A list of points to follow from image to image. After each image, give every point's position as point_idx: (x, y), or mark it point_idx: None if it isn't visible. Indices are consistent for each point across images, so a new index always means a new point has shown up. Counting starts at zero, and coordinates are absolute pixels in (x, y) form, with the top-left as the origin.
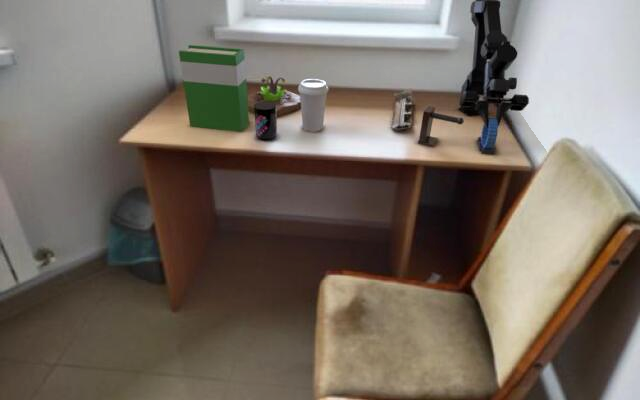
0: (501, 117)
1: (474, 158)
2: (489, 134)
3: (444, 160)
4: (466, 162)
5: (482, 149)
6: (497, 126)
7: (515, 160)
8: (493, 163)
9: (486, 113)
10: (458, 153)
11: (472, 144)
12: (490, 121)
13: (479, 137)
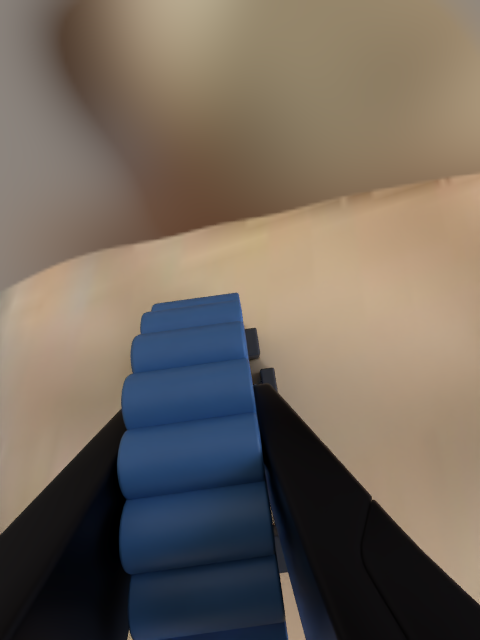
0: (16, 529)
1: (297, 260)
2: (231, 294)
3: (454, 187)
4: (337, 202)
5: (257, 339)
6: (139, 337)
7: (64, 311)
8: (194, 236)
9: (358, 546)
10: (395, 292)
11: None
12: (233, 418)
13: (282, 562)
